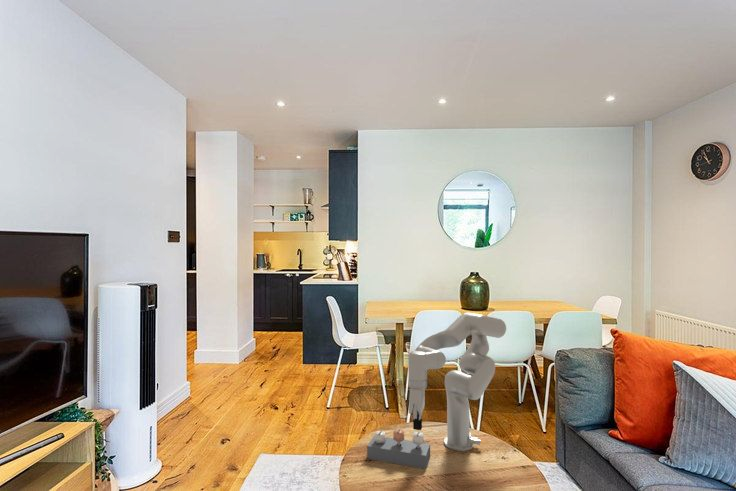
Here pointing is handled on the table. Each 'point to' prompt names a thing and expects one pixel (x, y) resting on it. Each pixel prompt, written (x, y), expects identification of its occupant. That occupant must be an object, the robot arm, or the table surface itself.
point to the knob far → (379, 437)
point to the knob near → (418, 439)
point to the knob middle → (398, 436)
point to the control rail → (399, 452)
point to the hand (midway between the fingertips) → (417, 428)
